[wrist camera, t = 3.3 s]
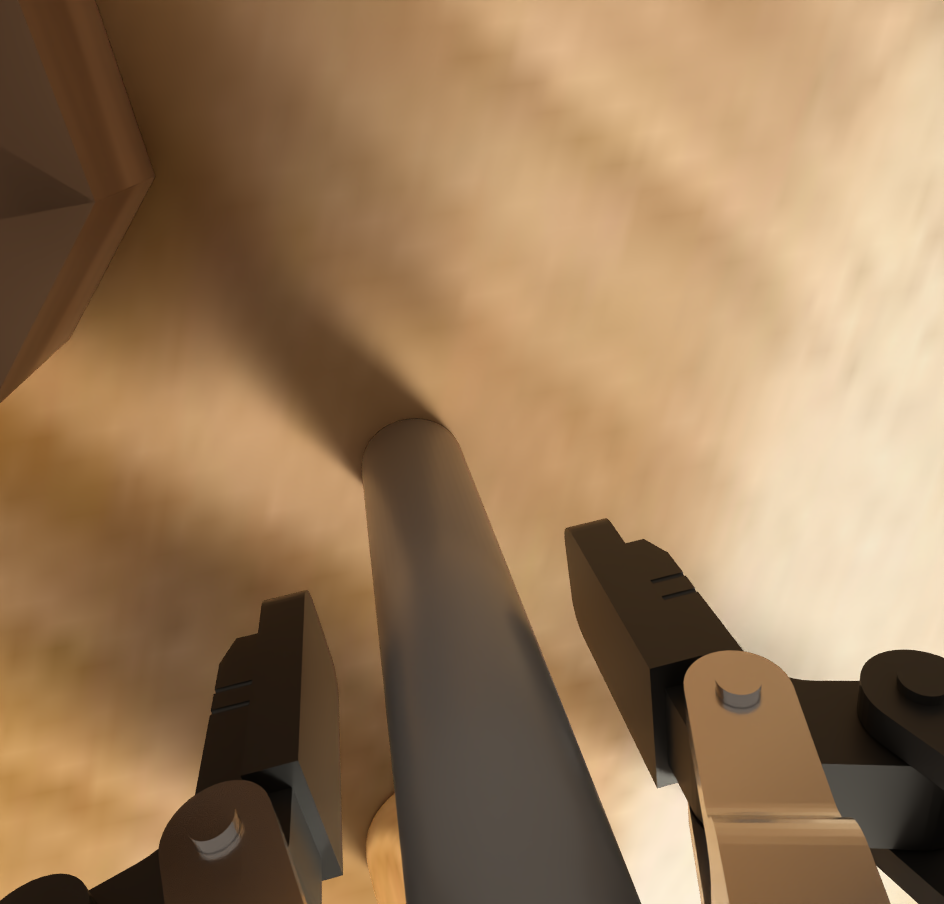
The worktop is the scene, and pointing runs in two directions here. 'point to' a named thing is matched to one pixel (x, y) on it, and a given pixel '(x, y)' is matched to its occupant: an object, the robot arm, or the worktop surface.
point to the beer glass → (385, 855)
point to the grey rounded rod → (472, 699)
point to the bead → (59, 174)
